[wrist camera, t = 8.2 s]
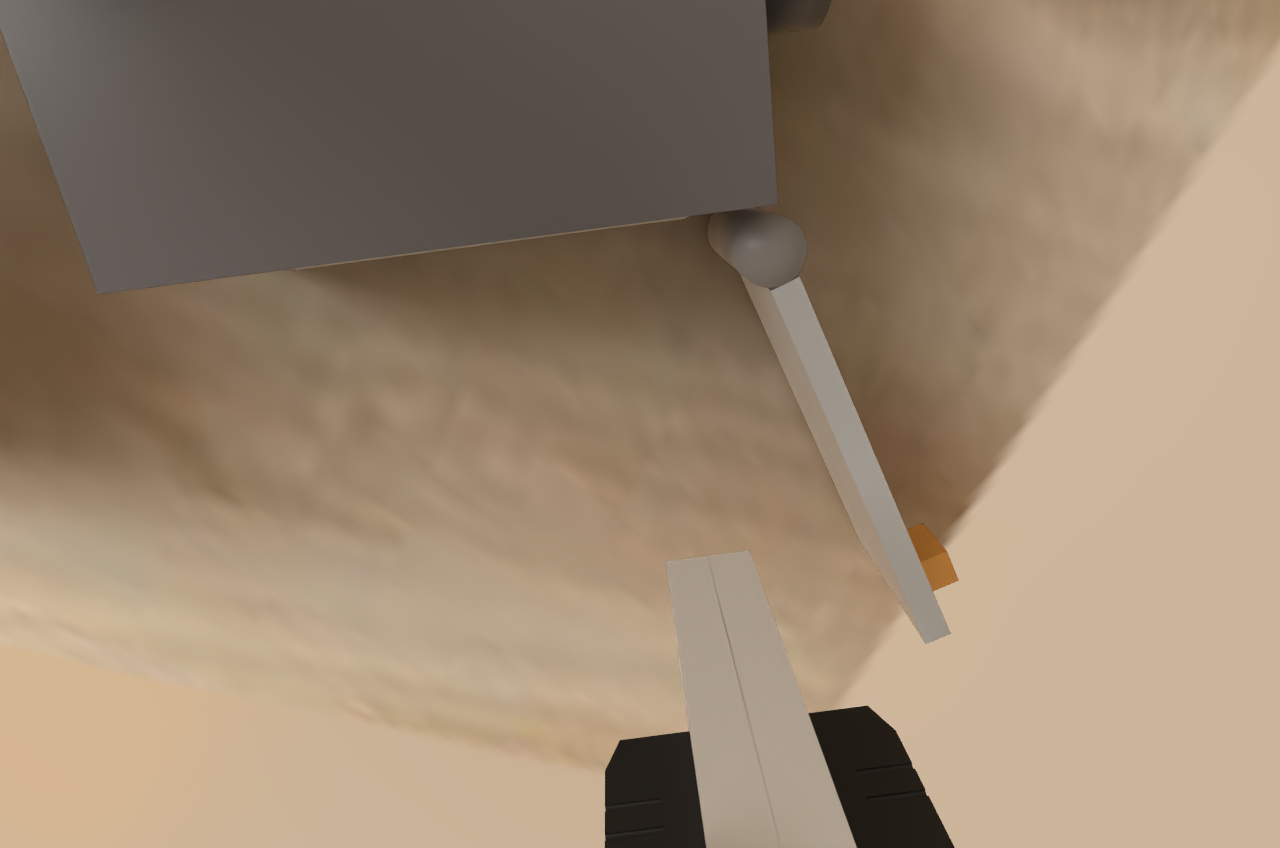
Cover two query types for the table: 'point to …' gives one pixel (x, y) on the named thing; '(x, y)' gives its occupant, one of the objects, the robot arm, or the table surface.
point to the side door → (831, 409)
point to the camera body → (389, 123)
